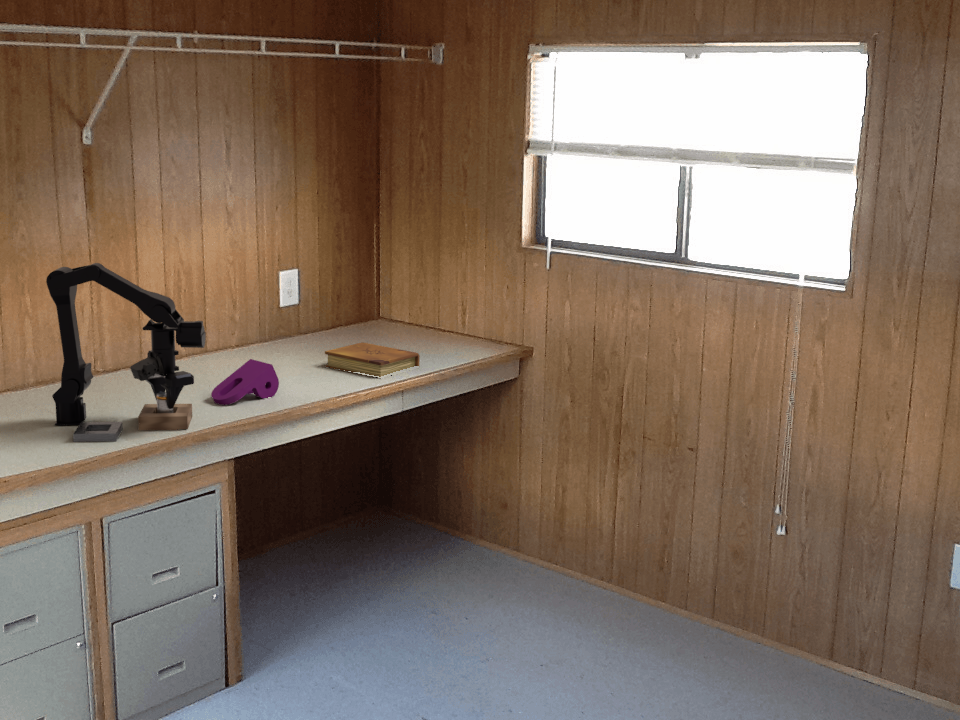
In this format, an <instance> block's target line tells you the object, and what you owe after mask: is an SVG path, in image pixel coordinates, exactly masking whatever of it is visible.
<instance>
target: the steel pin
mask: <svg viewBox="0 0 960 720" xmlns="http://www.w3.org/2000/svg"><path fill="white" fill-rule="evenodd" d="M156 396H157V401H156V404H157V413H173V408H172V409H169V408H168V403H167V396H166V391H165V392H159V393H157V395H156Z"/></svg>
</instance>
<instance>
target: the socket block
mask: <svg viewBox="0 0 960 720" xmlns="http://www.w3.org/2000/svg"><path fill="white" fill-rule="evenodd" d="M192 419H193V403H175V405H174V407H173V413H157V403H145V404H144V405H143V407H142V408H141V410H140V412H139V414H138V416H137V424H138V431H180V430H179V429H189V426H190V424H191V422H192ZM177 429H178V430H177Z"/></svg>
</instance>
